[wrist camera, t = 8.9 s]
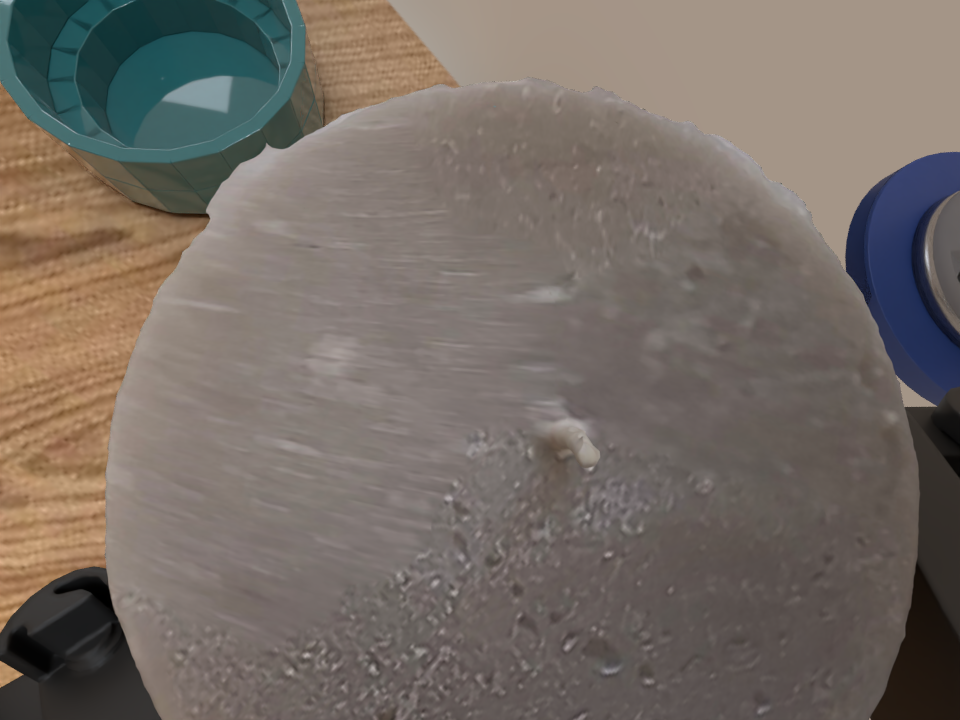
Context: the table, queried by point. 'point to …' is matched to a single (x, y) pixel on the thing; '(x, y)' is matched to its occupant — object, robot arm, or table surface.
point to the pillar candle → (510, 433)
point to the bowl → (162, 87)
